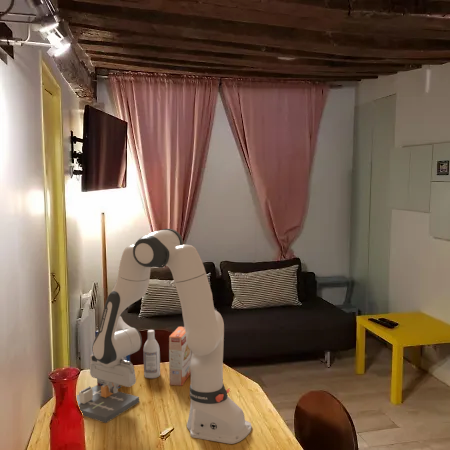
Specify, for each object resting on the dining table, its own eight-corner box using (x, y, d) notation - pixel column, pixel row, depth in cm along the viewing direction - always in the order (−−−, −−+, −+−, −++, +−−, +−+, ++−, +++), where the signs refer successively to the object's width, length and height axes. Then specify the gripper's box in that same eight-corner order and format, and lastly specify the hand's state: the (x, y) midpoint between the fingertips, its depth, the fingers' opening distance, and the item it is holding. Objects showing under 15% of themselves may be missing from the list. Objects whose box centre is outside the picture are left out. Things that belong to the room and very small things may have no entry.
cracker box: (183, 386, 199) (182, 337, 197) (169, 385, 201) (167, 336, 198) (192, 372, 213) (191, 326, 211) (178, 372, 214) (177, 325, 212)
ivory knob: (92, 399, 184) (92, 387, 183) (84, 403, 180) (83, 391, 180) (88, 397, 185) (87, 386, 185) (79, 402, 181) (79, 390, 181)
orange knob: (113, 393, 189) (113, 381, 188) (105, 397, 185) (105, 386, 184) (109, 391, 190) (108, 380, 189) (101, 396, 186) (100, 384, 185)
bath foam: (150, 371, 215) (149, 327, 213) (163, 374, 212) (162, 329, 210) (140, 377, 209) (139, 331, 207) (154, 380, 206) (152, 334, 204)
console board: (139, 402, 186) (139, 396, 186) (105, 423, 171) (105, 417, 170) (96, 389, 197) (96, 385, 197) (61, 408, 182) (61, 403, 181)
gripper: (138, 359, 182) (139, 395, 183) (98, 350, 192) (99, 383, 193) (127, 365, 176) (128, 401, 178) (86, 355, 186) (87, 390, 188)
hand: (113, 392), depth 186 cm, fingers closed
